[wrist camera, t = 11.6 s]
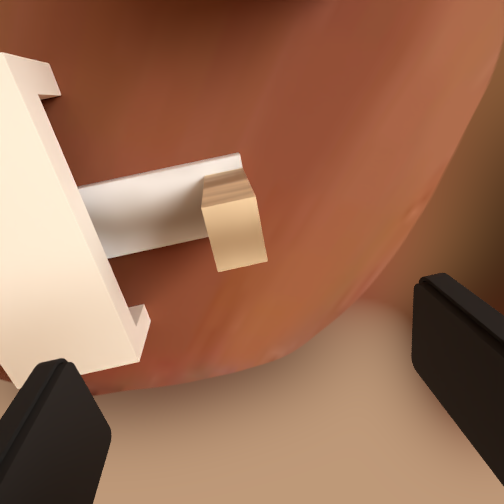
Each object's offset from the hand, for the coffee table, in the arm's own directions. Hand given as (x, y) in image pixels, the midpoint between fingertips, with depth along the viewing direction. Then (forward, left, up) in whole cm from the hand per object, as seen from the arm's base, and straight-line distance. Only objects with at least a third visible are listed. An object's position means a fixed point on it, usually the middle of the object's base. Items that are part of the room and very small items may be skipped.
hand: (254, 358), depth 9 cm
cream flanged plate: (0, -15, -20) cm, 25 cm away
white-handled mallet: (+1, -7, -20) cm, 22 cm away
